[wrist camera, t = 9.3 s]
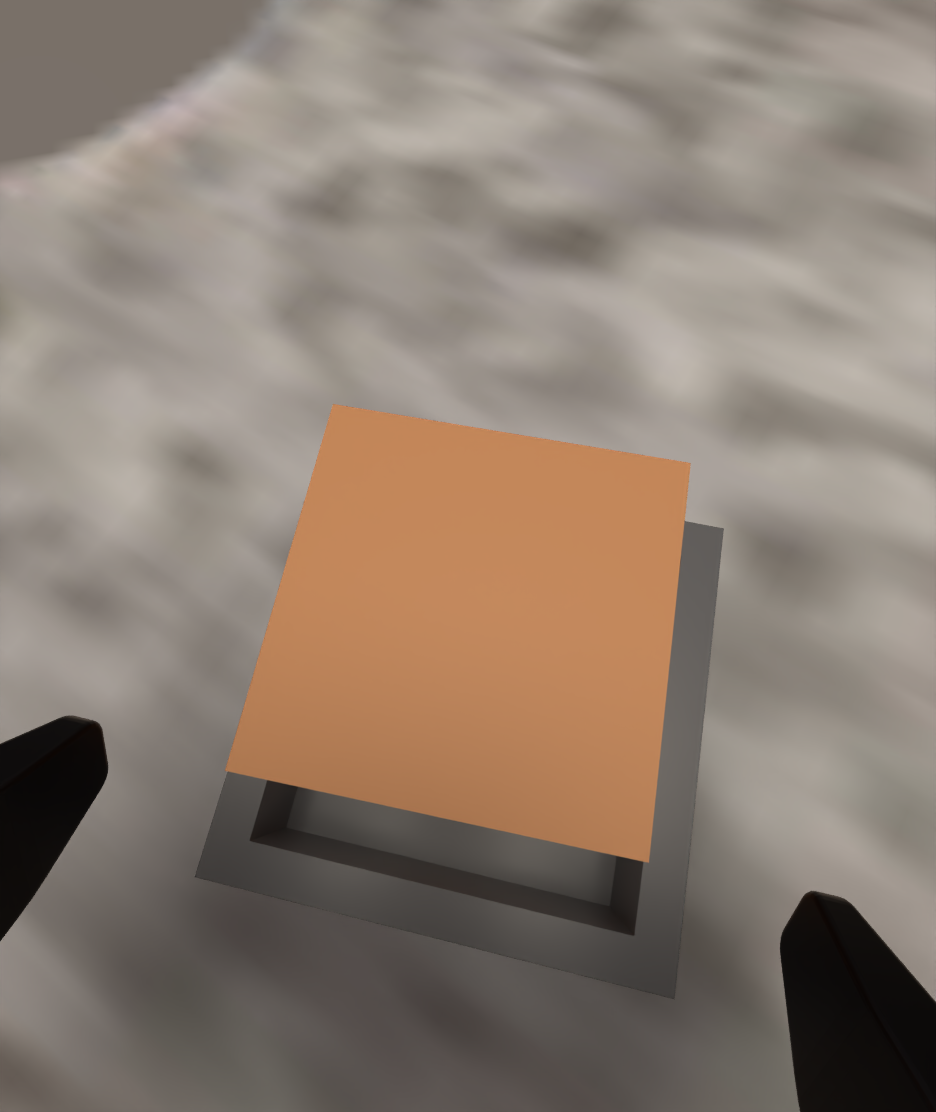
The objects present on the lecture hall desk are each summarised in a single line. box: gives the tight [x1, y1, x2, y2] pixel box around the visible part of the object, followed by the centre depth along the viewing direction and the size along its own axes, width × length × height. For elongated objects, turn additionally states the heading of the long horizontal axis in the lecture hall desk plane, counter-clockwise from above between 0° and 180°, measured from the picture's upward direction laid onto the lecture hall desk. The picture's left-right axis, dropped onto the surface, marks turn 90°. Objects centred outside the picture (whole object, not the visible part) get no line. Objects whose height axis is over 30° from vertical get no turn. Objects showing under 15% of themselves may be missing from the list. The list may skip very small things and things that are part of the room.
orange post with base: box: [225, 404, 691, 863], centre depth 13 cm, size 6×6×12 cm
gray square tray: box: [195, 521, 724, 999], centre depth 17 cm, size 11×11×4 cm
